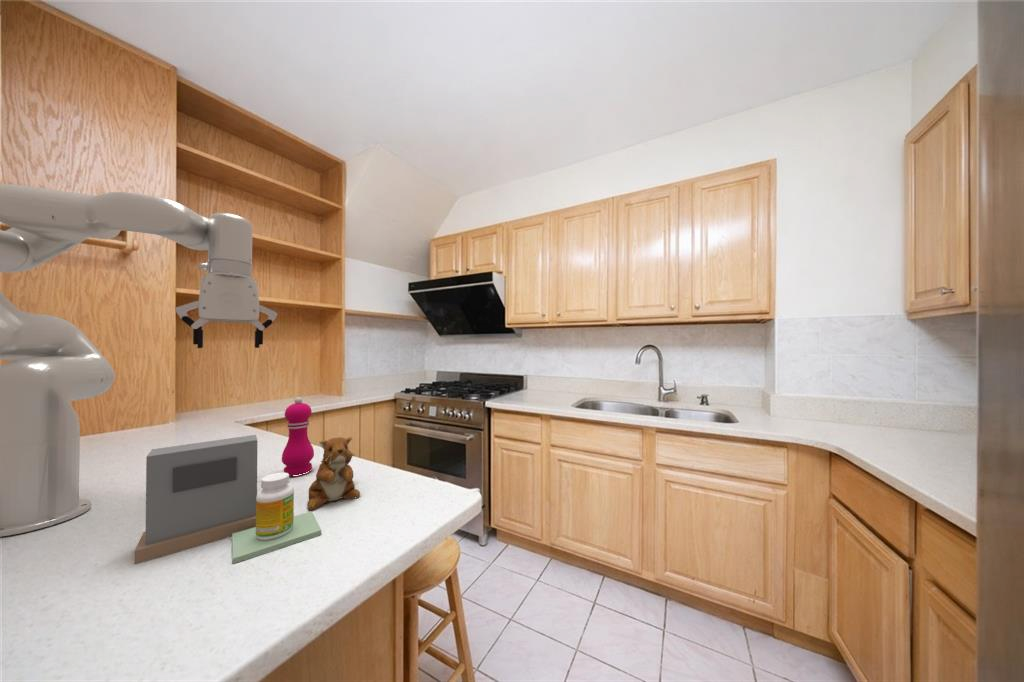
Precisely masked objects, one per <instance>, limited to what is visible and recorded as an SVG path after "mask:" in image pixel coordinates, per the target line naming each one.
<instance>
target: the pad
mask: <svg viewBox="0 0 1024 682" xmlns="http://www.w3.org/2000/svg"><path fill="white" fill-rule="evenodd" d="M321 535H322V529H321V527H320V524H319V523H318V520H317V519H316V517H315V514H314V513H313V510H309V511H307V512H304V513H303V512H302V513H301V514H300V513H299V514H296V515H293V528H292V530H291V531H290V532H288V533H287V534H285V535H283V536H281V537H278V538H274V539H270V540H260V539H258V538H257V537H256V527H254V528H251V529H247V530H244V531H240V532H237V533H233V534H232V536H231V537H232V538H231V541H232V542H231V543H232V546H231V547H232V564H233V565H234V564H237V563H239V562H244V561H246V560H249V559H252V558H255V557H259V556H261V555H265V554H266V553H270V552H274V551H276V550H278V549H282V548H286V547H288V546H292V545H295V544H297V543H300V542H303V541H306V540H310V539H311V538H315V537H318V536H321Z"/></svg>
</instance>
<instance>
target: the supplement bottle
mask: <svg viewBox="0 0 1024 682" xmlns="http://www.w3.org/2000/svg"><path fill="white" fill-rule="evenodd" d="M260 482H261V483H260V486H261V487H260V488H261V490H260V491H259V492H257V496H256V537H257V538H258V539H260V540H270V539H274V538H278V537H281V536H283V535H285V534H287V533H288V532H290V531H291V530H292V528H293V516H295V515H294V514H295V513H294V509H295V508H294V500H295V499H294V495H295V493H294V492H295V491H294V490H295V489H294V487H293V485H291V484H289V483H290V477H289V474H288V473H284V472H277V473H270V474H268V475H265V476H263V477H262V478H261V480H260Z"/></svg>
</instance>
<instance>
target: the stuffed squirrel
mask: <svg viewBox="0 0 1024 682" xmlns="http://www.w3.org/2000/svg"><path fill="white" fill-rule="evenodd" d="M352 440H353V437H352V436H349V437H347V438H345V437H332V438H329V439H327V440H326V439H320V441H319V444H320V446H321V448H322V449H323V455H322V459H321V461H320V463H319V466H318V470H317V472H316V475H315V478H316V479H315V480H314V481H313V482H312V483H311V485H310V486H309V488H308V501H307V509H308V510H309V511H314V510H315V509H317V508H319V507H321V506H322V505H324V504H325V503H326V502H333V501H338V500H340V499H356V498H355V497H358V498H359V497H360V495H361V492H360V491H359V490H358V489H357V488H356V486H355V482H354V480H353V479H354V470H353V468H352V467H351V466H350V465H349V464H350V463H351V461H352V459H353V457H355V454H354V453H353V452H351V450H350V449H349V444H350V443H351V441H352ZM337 499H338V500H337Z"/></svg>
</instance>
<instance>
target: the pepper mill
mask: <svg viewBox="0 0 1024 682" xmlns="http://www.w3.org/2000/svg"><path fill="white" fill-rule="evenodd" d="M311 416H312V407H311V406H310V405H309V404H308V403H306V402H305V403H304V402H303V399H302V397H300V396H297V397H295V398H294V403H292V404H290V405H288V406H287V407H286V409H285V410H284V417H285V420H287V423H286V425H287V426H286V428H287V429H288V439H287V442H286V445H285V447H284V449H283V451H282V454H281V463H283V465H284V466H285V467H284V468H283V473H288V474H289V476H293V475H299V474H303V473H306V472H308V471H310V470H311V469H312V470H313V464H312V460H313V458H314V457H315V452H314V451H315V450H314V448H313V445H312V443H311V441H310V439H309V436H308V427H310V420H309V418H310V417H311Z"/></svg>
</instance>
